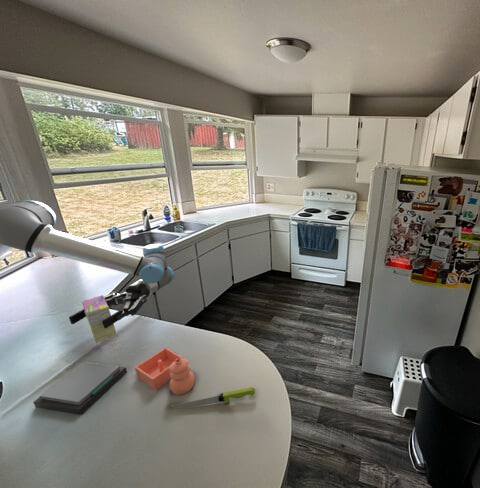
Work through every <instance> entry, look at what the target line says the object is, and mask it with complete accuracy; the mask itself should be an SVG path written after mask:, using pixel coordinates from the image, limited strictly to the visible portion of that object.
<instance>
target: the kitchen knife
mask: <svg viewBox="0 0 480 488" xmlns="http://www.w3.org/2000/svg"><path fill="white" fill-rule="evenodd" d="M255 393H256V389H255V388H254V387H252V386H251V387H247V388H241V389H236V390H231V391H226V392H223V393H222V392H221V393H219V395H216V396H209V397H205V398H201V399H195V400H191V401H186V402H181V403H176V404H170V407H172V408H176V409H187V408H193V407H194V408H195V407H201V406H207V405H212V404H219V403H225V404H229V402H230V399H241V398H243V397H246V396H251V397H253V396H255Z"/></svg>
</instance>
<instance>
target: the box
mask: <svg viewBox="0 0 480 488" xmlns="http://www.w3.org/2000/svg"><path fill="white" fill-rule="evenodd" d="M104 296H105V295H104V294H103V295H98V296H95V297H90V298H88V299H84V300H82V301H81V303H82V307H83V309H84V310H85V314H86V317H85V318H86V319H87V322H88V325H89V327H90V330H91V333H92V336H93V339H94V341H95V344H98V343H102V342H104V341H107V340H109V339H112V338H115V337H117V336H118V333H117V330H116V328H115V323H114V324H112V325H111V326H109V327H108V328H104V325H103V322H102V321H103V320H105V319H107V318H108V317H110V316H111V315H112V314H111V311H110V306H108V305H107V303H106V301H105V298H104Z"/></svg>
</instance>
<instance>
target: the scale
mask: <svg viewBox="0 0 480 488" xmlns="http://www.w3.org/2000/svg"><path fill="white" fill-rule="evenodd" d="M127 373H128V370H127V367H126V366H118V365H112V364H105V363H97V362H91V361H84V362H83V363H81V364H80V365H78V366H77V367H76V368H74V369H73V370H71V371H70V372H69V373H68V374H66V375H65V376H63V377H62V378H61V379H60V380H58V381H57V382H56V383H54V384H53V385H52V386H50V387H49V388H48V389H46V390H45V391H43V392H42V393H41V394H39V396H38V397H37V398H36V399H35V400H33V404H34V407H35V408H37V409H44V410H49V411H55V412H63V413H68V414H74V415H81V416H83V414H84V413H85V412H86V411H88V409H90V407H92V405H94V404H95V403H97V401H98V400H100V398H101V397H102V396H104V395H105V393H107V392H108V391H109V390H110V389H111V388H112V387H113V386H114V385H115V384H116V383H117V382H118V381H120V380H121V379H122V378H123V377H124V376H125V375H126V374H127Z"/></svg>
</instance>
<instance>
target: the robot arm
mask: <svg viewBox="0 0 480 488" xmlns="http://www.w3.org/2000/svg"><path fill="white" fill-rule="evenodd" d="M56 223H57V215H56V213H55V211H54V210H53V209H52V208H51V207H50V206H48V205H47V204H45V203H44V202H41V201H37V200H32V199H31V200H30V199H26V200H25V199H24V200H18V201H17V200H16V201H15V202H13V203H10V204H7V205H5V206H1V207H0V258H1V257H2V256H4V255H5V254H6V253H9V251H11V250H12V249H16V250H18V251H19V250H20V251H24V252H27V253H31V254H35V253H39V252H40V253H41V252H42V253H46V254H49V255H52V256H58V257H61V258H66V259H69V260H74V261H77V262H81V263H84V264H89V265H92V266H96V267H101V268H104V269H109V270H112V271H117V272H120V273H124V274H128V275H132V276H136V277H139V280H137V281H135V282H133V283H131V284H130V285H128V286H127V287H126V288H125V289H124V290H125V291H124V292H123V291H122V292H121V293H118V292H117V291H113V292H111V293H110V294H107V295H103V296H104V298H105V301H106V303H107V305H108V307H111V306H119V305H124V307H123V308H122V309H119V310H117V311H115V312H114V313H113V314H111V316H110V317H108V318H107V319H105V320H103V321H102V322H103V325H104V328H108V327H109V326H111V325H112V324H114V325H115V324H116V322H118V321H121V320H122V319H124V318H125V317H128V316H132V317H133V316H135V315H136V314H137V313H138V312H139V310H140V309H141V308H142V307H143V305H144V304H146V303H147V302H148V299H147V298H148V297H149V296H152V294H155V292H157V291H159V290H160V289H163V288H164V287H165V286H167V285H169V284H170V283H171V282H173V280H174V279H175V277H176V273H175V271H174V270H173V269H172V268H171V267H170V266H168V263H167V258H166V251H165V247H164V246H163V244H160V243H152V244H148V245H145V246H143V248H142V255H143V256H142V255H139V254H136V253H133V252H130V251H126V250H124V249H123V250H122V249H120V248H116V247H113V246H110V245H106V244H102V243H99V242H96V241H92V240H89V239H86V238H83V237H79V236H75V235H73V234H70V233H66V232H62V231H59V230H56V229H54V226H55V225H56ZM85 318H87V317H86V314H85V310H84V308H82V309H81V310H79V311H77V312H76V313H75V312H74V314H72V315H70V316H68V319H69V322H70V324H71V325H74V324H76V323H78V322H80V321H81V320H83V319H85Z"/></svg>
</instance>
